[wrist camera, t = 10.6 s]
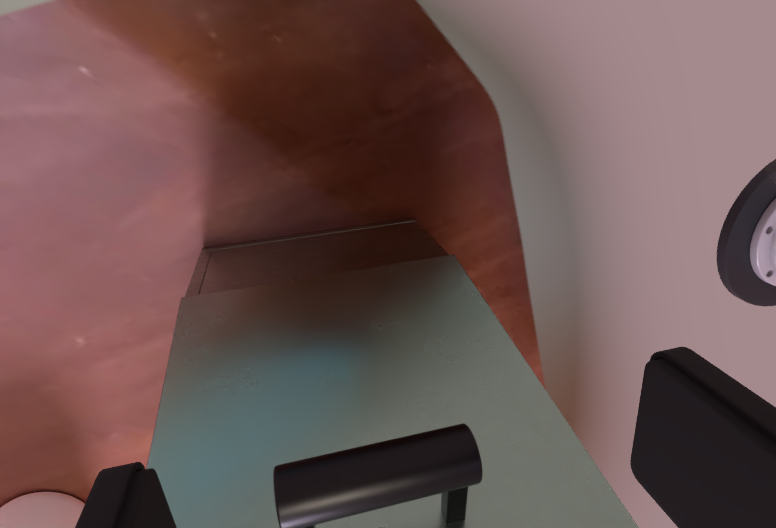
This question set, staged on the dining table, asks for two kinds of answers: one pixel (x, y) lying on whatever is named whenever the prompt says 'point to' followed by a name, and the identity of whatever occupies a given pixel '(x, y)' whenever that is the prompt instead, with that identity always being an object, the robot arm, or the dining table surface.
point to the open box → (311, 255)
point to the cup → (41, 511)
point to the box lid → (365, 411)
